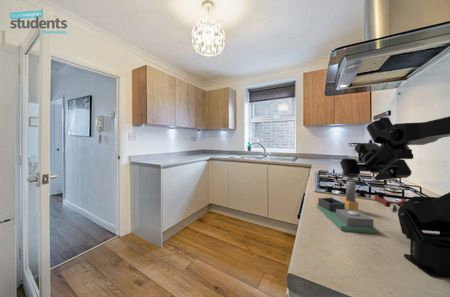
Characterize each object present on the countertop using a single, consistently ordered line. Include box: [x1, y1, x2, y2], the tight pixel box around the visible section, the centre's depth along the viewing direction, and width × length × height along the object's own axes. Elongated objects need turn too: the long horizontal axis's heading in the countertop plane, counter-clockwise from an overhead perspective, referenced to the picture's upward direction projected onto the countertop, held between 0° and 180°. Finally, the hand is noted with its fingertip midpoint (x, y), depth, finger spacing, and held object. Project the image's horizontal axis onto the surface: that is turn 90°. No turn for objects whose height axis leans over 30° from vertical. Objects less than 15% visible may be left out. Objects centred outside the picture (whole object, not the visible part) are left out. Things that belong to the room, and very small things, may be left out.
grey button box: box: [336, 209, 375, 227], centre depth 58 cm, size 8×8×3 cm
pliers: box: [374, 194, 407, 212], centre depth 76 cm, size 11×20×3 cm, turn 142°
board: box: [316, 203, 377, 234], centre depth 64 cm, size 21×10×2 cm, turn 171°
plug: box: [342, 180, 359, 210], centre depth 71 cm, size 4×4×12 cm
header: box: [317, 197, 345, 211], centre depth 70 cm, size 7×6×3 cm
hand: (361, 178), depth 64 cm, fingers open, 9 cm apart
